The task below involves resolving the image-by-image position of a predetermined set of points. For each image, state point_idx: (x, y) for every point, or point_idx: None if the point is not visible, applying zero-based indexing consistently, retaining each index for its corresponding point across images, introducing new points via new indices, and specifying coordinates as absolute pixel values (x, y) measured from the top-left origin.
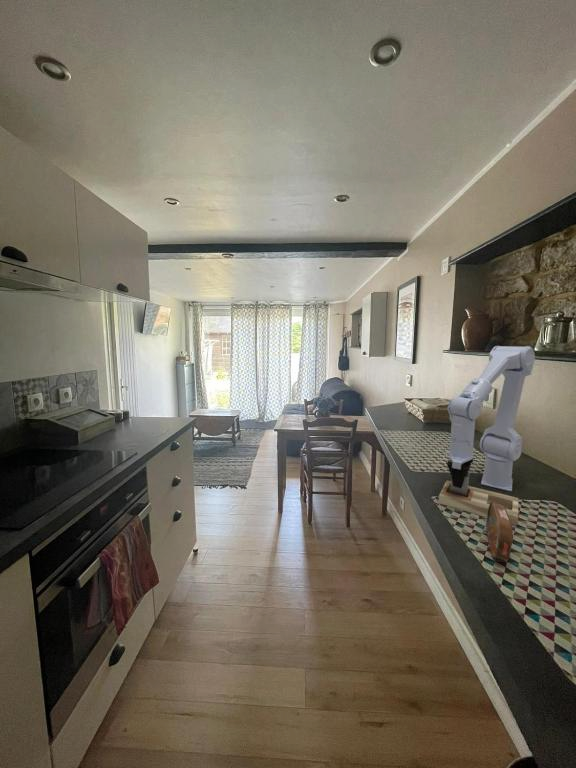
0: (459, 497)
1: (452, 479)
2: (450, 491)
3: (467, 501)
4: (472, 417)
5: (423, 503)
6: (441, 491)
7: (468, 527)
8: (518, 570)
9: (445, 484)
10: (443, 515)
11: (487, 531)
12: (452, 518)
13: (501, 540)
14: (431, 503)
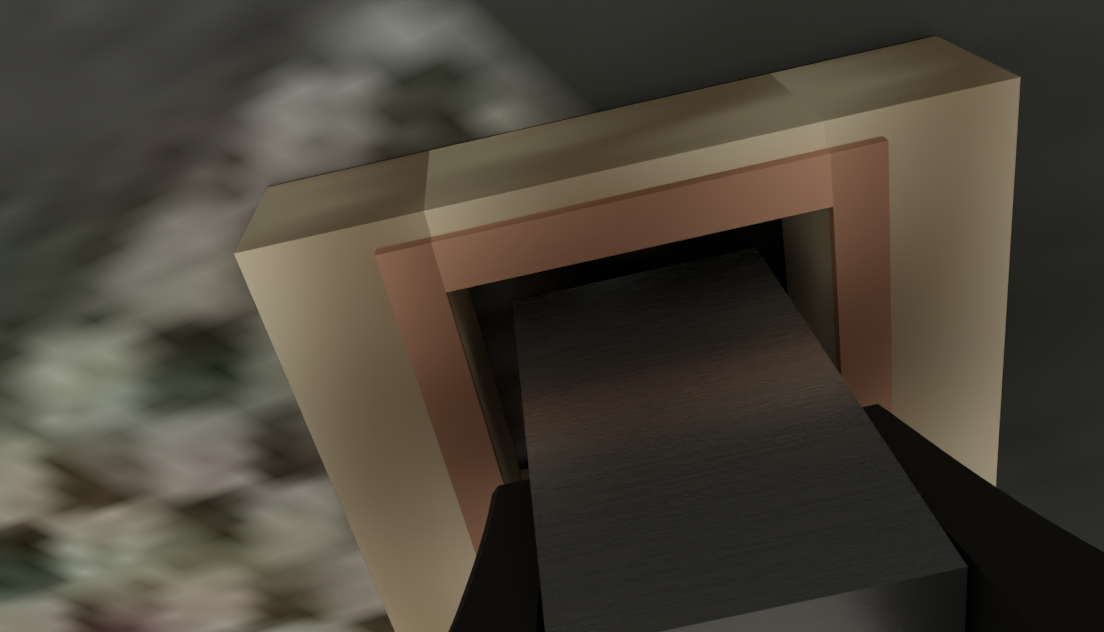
0: (453, 490)
1: (467, 599)
2: (519, 349)
3: (430, 587)
4: None
5: (13, 5)
6: (423, 219)
7: (59, 628)
8: None
9: (801, 141)
10: (6, 376)
11: None
12: (58, 470)
13: None
14: (155, 107)
